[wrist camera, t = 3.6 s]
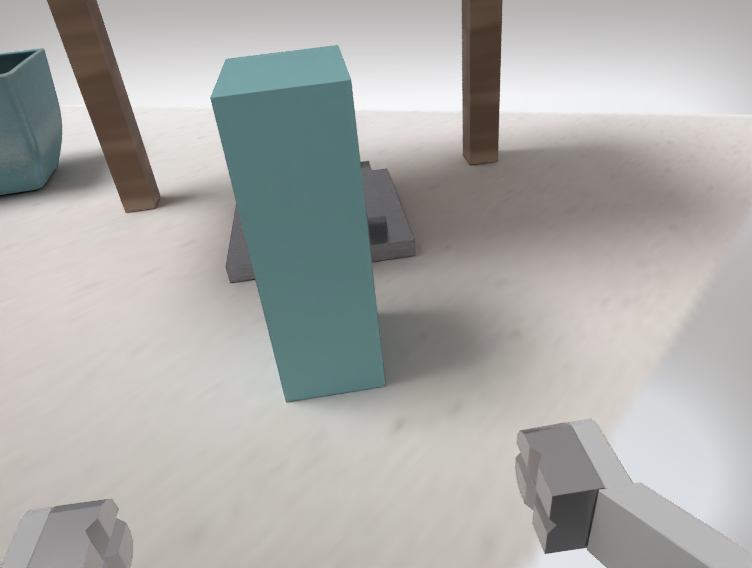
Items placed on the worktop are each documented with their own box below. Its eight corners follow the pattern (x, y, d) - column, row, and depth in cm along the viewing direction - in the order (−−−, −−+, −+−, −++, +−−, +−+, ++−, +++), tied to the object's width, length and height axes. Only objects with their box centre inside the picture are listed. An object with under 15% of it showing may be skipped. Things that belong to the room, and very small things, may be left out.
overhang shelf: (573, 252, 30) (634, -271, 19) (64, 328, 28) (-195, -193, 17) (489, 151, 42) (496, -201, 31) (132, 200, 41) (6, -151, 30)
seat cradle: (415, 255, 31) (413, 222, 30) (230, 282, 31) (221, 250, 29) (388, 182, 39) (385, 154, 38) (242, 202, 39) (235, 174, 38)
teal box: (385, 386, 23) (351, 80, 16) (286, 402, 23) (210, 97, 16) (370, 313, 27) (338, 45, 21) (286, 326, 27) (225, 59, 20)
